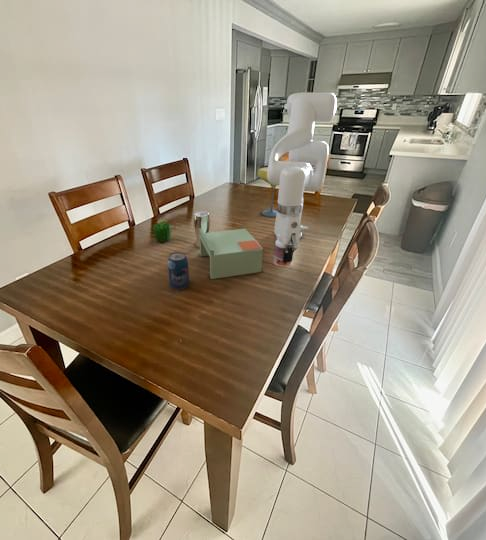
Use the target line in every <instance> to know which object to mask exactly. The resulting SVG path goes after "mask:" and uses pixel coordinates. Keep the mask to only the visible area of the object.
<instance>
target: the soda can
mask: <svg viewBox="0 0 486 540" xmlns="http://www.w3.org/2000/svg"><path fill="white" fill-rule="evenodd" d="M167 270H168V280H169V281H168V282H169V285H170V287H171V288H173V289H174V290H176V291H180V290H184V289H186V288H187V287H188V286H189V284H190V274H189V260H188V258H187V256H186V254H185V253H184V252H180V251H175V252H172V253H170V254H169V255H168V258H167Z"/></svg>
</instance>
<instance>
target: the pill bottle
mask: <svg viewBox="0 0 486 540" xmlns="http://www.w3.org/2000/svg"><path fill="white" fill-rule="evenodd" d="M274 242H275V241H274ZM288 243H291V241H289V242H288ZM290 247H291V245H288V249H289V248H290ZM274 250H275V252H274V251H273V264H274V265H275V266H276V267H280V268H286V267H287V268H288V267H289V266H290V265H291V264H292V262H286V263H284V262H283V256H284V252H285V244H284V243H283V242H282V241H281V236H280V235H279V234H278V236H277V240H276V242H275V243H274Z"/></svg>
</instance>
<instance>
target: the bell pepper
mask: <svg viewBox="0 0 486 540" xmlns="http://www.w3.org/2000/svg"><path fill="white" fill-rule="evenodd" d="M152 232H153V236H154V238H155V241H157V242H158V243H164V242H169V241H170V239H171V237H172V226H171V223H168V222H167V220H166V219H165V220H162V221H160V222H159V223H158V222H157V223H154V224H153V226H152Z"/></svg>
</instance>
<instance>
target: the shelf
mask: <svg viewBox="0 0 486 540" xmlns="http://www.w3.org/2000/svg"><path fill="white" fill-rule="evenodd" d="M199 237H200V248H199V255H200V257H208V256H209V276H210V277H209V278H210V279H211V280H215V279H221V278H222V279H223V278H229V277H235V276H242V275H250V274H256V273H262V270H263V269H262V267H263V256H264V248H263V247H262V246H261V245H260V244H259V242H258V241H257V240H256V239H255V238H254V236H253V235H252V234H251V233H250V232H249V231H248V230H247V229H246V228H238V229H227V230H219V231H218V230H217V231H211V232H210V231H209V233H204V232H203V230H202V229H199Z"/></svg>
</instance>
